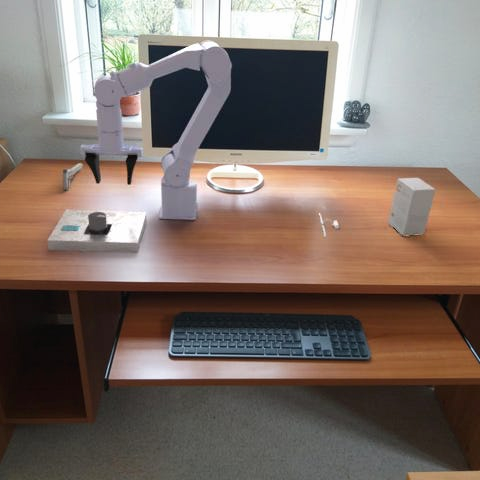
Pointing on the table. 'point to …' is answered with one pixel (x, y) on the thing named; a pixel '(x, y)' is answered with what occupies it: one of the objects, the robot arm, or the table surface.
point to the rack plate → (78, 239)
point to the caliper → (70, 175)
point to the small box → (411, 206)
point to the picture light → (332, 224)
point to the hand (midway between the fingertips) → (114, 182)
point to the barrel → (97, 223)
